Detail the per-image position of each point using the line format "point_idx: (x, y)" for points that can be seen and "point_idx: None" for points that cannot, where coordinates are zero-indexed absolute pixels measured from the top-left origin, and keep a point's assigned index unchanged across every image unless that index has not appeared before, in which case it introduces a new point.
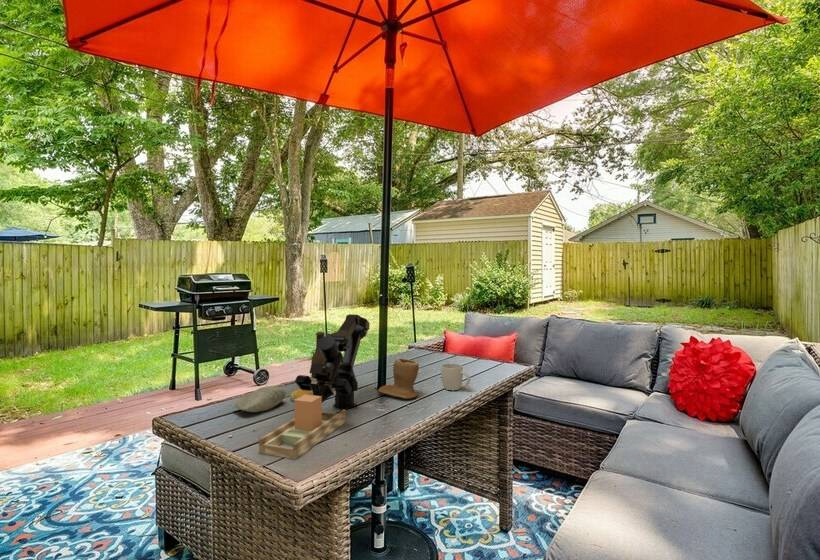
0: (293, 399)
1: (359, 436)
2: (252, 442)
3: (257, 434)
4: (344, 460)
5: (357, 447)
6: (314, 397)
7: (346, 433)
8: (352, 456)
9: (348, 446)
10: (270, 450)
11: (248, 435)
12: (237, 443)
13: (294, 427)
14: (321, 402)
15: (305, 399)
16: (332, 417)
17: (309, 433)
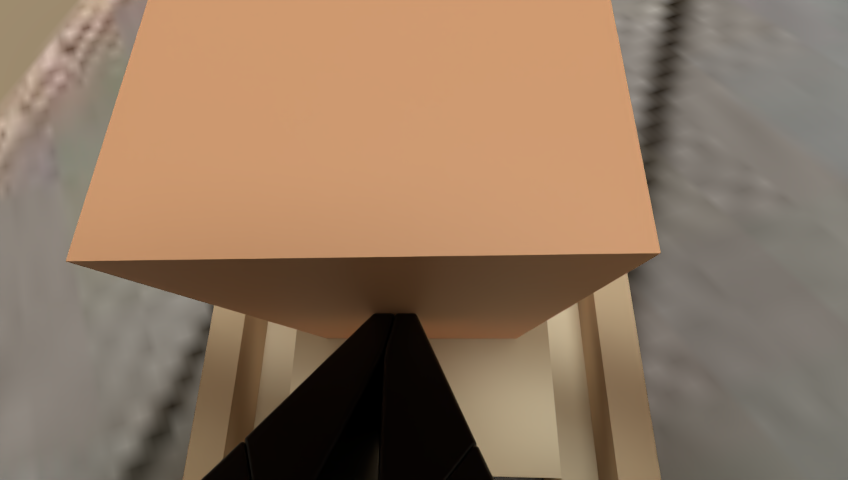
0: None
1: (30, 362)
2: (698, 44)
3: (792, 147)
4: (77, 44)
5: (27, 191)
6: (230, 106)
7: (142, 387)
8: (43, 89)
9: (84, 186)
10: None
11: (834, 114)
12: (771, 7)
13: None
14: (188, 291)
15: None
16: (217, 444)
17: None
